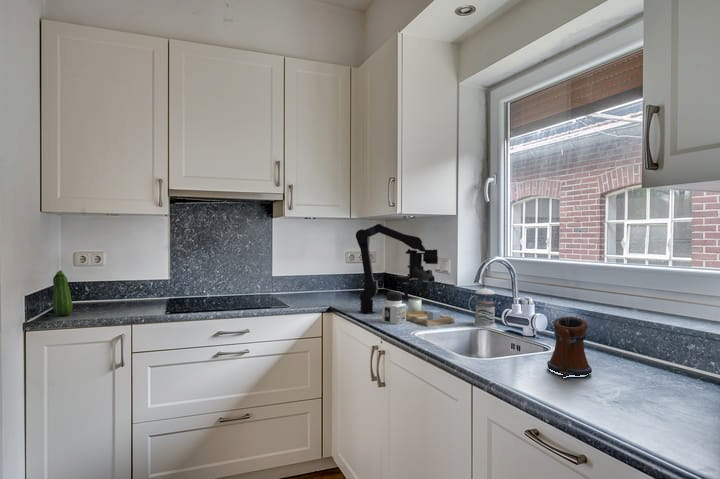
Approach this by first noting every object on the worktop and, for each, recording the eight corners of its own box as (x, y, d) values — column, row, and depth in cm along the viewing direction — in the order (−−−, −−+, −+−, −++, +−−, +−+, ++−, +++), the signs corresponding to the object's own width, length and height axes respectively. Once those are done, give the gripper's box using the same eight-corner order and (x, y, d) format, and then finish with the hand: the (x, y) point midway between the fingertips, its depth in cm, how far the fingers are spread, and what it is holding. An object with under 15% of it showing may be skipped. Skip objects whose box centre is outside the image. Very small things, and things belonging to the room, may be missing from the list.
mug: (585, 388, 112) (587, 329, 112) (537, 379, 119) (538, 323, 118) (594, 370, 127) (595, 318, 127) (551, 363, 134) (552, 313, 133)
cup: (405, 314, 210) (406, 299, 209) (416, 313, 212) (416, 298, 212) (413, 316, 204) (413, 300, 204) (423, 315, 207) (424, 300, 207)
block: (427, 320, 192) (427, 310, 192) (434, 319, 194) (434, 310, 194) (433, 321, 188) (433, 312, 188) (440, 320, 190) (440, 311, 190)
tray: (400, 317, 201) (400, 312, 201) (425, 315, 208) (425, 310, 208) (427, 326, 183) (427, 320, 183) (454, 323, 190) (454, 318, 190)
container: (396, 324, 186) (397, 293, 185) (381, 322, 190) (381, 291, 190) (406, 321, 192) (406, 291, 191) (391, 319, 196) (391, 290, 196)
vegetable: (71, 316, 194) (71, 270, 194) (51, 317, 191) (51, 271, 190) (73, 313, 200) (73, 269, 200) (54, 314, 197) (54, 269, 197)
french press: (498, 328, 181) (499, 266, 180) (468, 326, 183) (469, 266, 183) (495, 323, 191) (496, 265, 190) (467, 321, 193) (468, 264, 192)
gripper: (408, 265, 196) (408, 300, 197) (442, 264, 205) (441, 298, 205) (394, 263, 206) (394, 297, 206) (427, 262, 215) (427, 295, 215)
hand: (414, 297), depth 208 cm, fingers open, 9 cm apart
